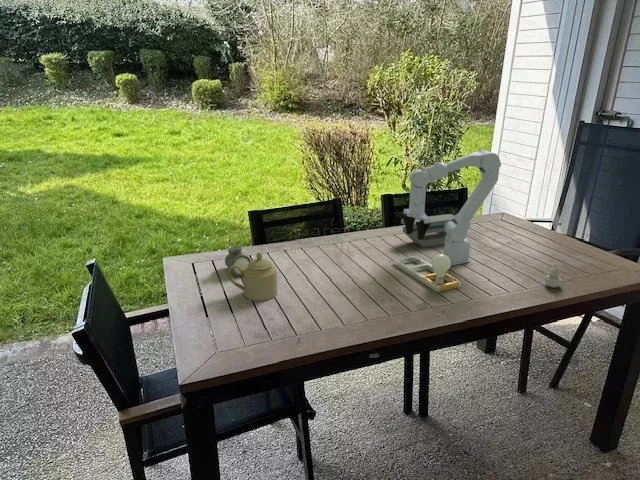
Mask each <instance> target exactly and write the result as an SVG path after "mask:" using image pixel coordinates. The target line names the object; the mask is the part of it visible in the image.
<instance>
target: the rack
mask: <svg viewBox="0 0 640 480" xmlns="http://www.w3.org/2000/svg"><path fill="white" fill-rule="evenodd" d="M408 263H409V264H410V263H416V264H417V265H411V266H408V265H406V264H408ZM393 265H394V266H395V267H397V268H398V269H400V270H401V271H403V272H405V273H406V274H408V275H410V276H411V277H413V278H414V279H416V280H417V281H419V282H420V283H422V284H424V285H425V286H427V287H428V288H430V289H432V290H433V291H434V292H435V293H439V292H443V291H444V292H445V291H449V290H452V289H459V288H461V287H462V281H460V279H458V278H456V277H454V276H453V275H452V274H450V273H448V272H446V274H445V276H444V281H446V282H447V283H443V284H440V285H439V284H437V283H436V275H435V271H434V269H433V267H432V263H429V262H427V261H425V260H424V259H421V258H420V257H418V256H416V255H412V256H405V257H401V258H395V259H393ZM422 271H429V272H431V273H429V274H424V275H422V274H421V273H419V272H422ZM434 280H435V281H434Z"/></svg>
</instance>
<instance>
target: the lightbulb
mask: <svg viewBox="0 0 640 480" xmlns="http://www.w3.org/2000/svg"><path fill="white" fill-rule="evenodd" d="M431 265H432V267H433V269H434V271H435V275H436V279H435V283H436V284H438V285H441V284H445V283H444V281H445V280H444V276H445V274H446V273H448V271H449V270H450V268H451V266H452V265H451V261H450V259H449V257H448V256H446V255H444V253H438V254H436V255H434V256H433V257H432V259H431Z"/></svg>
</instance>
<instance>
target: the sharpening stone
mask: <svg viewBox="0 0 640 480" xmlns="http://www.w3.org/2000/svg"><path fill="white" fill-rule="evenodd" d="M453 216H455V215H454V214H452V213H448V214H441V215H440V214H439V215H438V214H436V215H429V216H428V217H429V218H430V222H431V225H430V226H429V227H428V229H427V231H426V233H425V236H424V239H422V240H418V231H417V226H416V222H420V220H418V219H415V222H414V226H413V232H412V234H407V232H406V227H405V223H404V221H403V219H400V224H402V225H404V226H402V232H403V234H405V235H406V237H408V238H409V239H410V240H411V241H412V242H414V243H415V244H417V245H419V246H420V247H422V248H426V247H433V246H440V245H441V246H442V245H444V244H445V237H446V235H447V233H446V232H445V230H444V226H445V224H446V223H447V222H448V221H449V220H451V219H452V218H453Z"/></svg>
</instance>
